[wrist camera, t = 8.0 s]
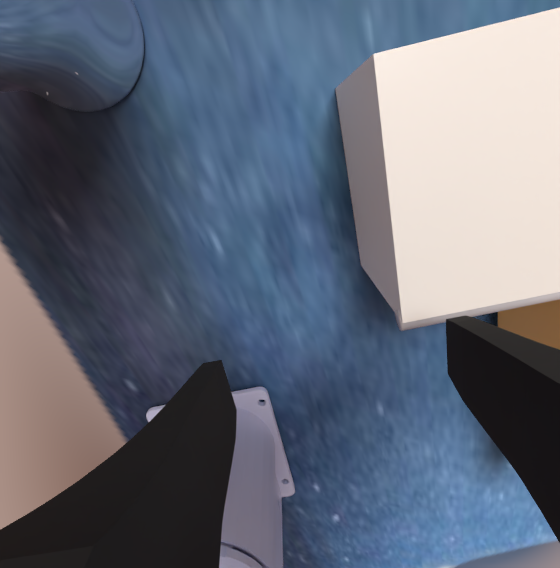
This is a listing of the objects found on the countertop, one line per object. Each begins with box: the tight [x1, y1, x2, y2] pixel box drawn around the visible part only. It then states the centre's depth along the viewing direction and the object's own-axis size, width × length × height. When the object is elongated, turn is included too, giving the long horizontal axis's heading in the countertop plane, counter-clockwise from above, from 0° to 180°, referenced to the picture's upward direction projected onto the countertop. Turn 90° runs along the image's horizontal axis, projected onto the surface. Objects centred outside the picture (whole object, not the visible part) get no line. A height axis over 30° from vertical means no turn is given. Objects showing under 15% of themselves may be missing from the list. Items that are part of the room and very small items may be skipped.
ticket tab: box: [498, 299, 560, 350], centre depth 19 cm, size 14×2×5 cm, turn 12°
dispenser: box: [335, 8, 560, 331], centre depth 15 cm, size 10×16×7 cm, turn 102°
